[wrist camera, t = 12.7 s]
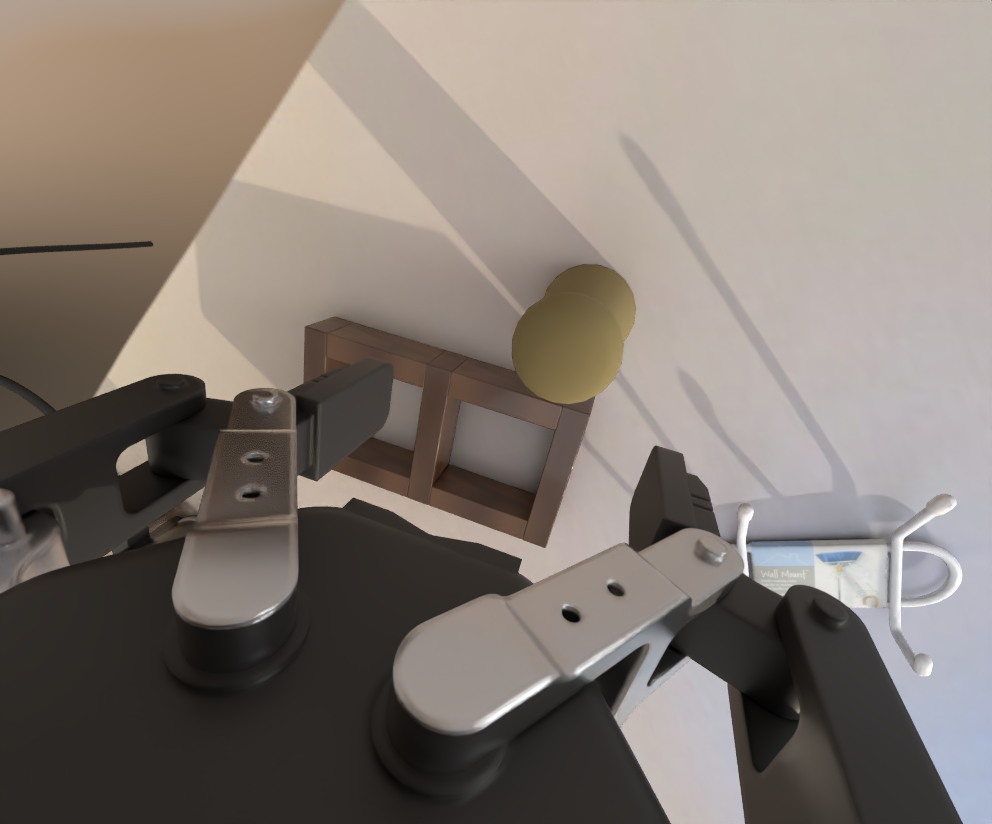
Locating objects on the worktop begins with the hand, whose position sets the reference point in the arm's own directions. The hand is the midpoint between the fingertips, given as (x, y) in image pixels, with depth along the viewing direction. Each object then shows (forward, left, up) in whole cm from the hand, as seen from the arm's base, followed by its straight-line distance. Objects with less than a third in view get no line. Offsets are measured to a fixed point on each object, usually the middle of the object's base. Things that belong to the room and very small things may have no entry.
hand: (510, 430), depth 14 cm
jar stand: (-8, -11, -19) cm, 23 cm away
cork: (0, 0, -19) cm, 19 cm away
